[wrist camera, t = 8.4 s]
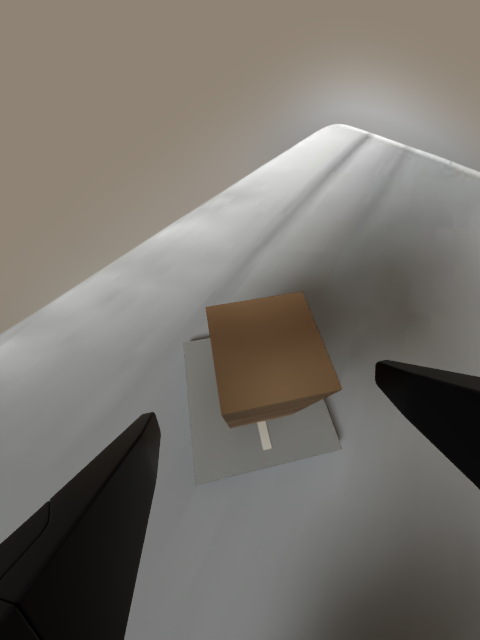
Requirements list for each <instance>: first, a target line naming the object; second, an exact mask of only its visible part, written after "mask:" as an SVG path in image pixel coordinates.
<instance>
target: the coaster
mask: <svg viewBox="0 0 480 640" xmlns="http://www.w3.org/2000/svg"><path fill="white" fill-rule="evenodd" d="M183 345H184V357H185V368H186V380H187V392H188V403H189V415H190V427H191V438H192V450H193V462H194V473H195V485H199V484H203V483H207V482H211V481H215V480H219V479H223V478H227V477H231V476H235V475H239V474H243V473H247V472H251V471H255V470H259V469H263V468H267V467H271V466H275V465H279V464H283V463H287V462H291V461H296V460H300V459H304V458H308V457H312V456H316V455H320V454H324V453H328V452H332V451H336V450H340V449H342V447H341V444H340V442H339V439H338V436H337V433H336V431H335V428H334V425H333V423H332V420H331V417H330V414H329V412H328V409H327V406H326V404H325V401H324V399H322V400H320V401H318V402H316V403H314V404H312V405H310V406H308V407H306V408H304V409H302V410H300V411H298V412H296V413H294V414H292V415H289V416H285V417H280V418H276V419H271V420H267V421H262V422H257V423H253V424H248V425H244V426H239V427H235V428H229V426H228V425H227V423H226V421H225V420H224V418H223V417H222V415H221V409H220V403H219V396H218V389H217V382H216V375H215V368H214V361H213V354H212V348H211V341H210V338H206V339H201V340H195V341H190V342H184V343H183Z"/></svg>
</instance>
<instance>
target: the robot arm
mask: <svg viewBox="0 0 480 640" xmlns="http://www.w3.org/2000/svg"><path fill="white" fill-rule="evenodd" d="M375 381H376V384H377V386H378V387H379V388H380V389H381V390H382V391H383V393H384V394H385V395H386V396H387V397H388V398H389V399H390V401H391V402H392V403H393V404H394V405H395V406H396V407H397V409H398V410H399V411H400V412H401V413H402V414H403V415H404V416H405V417H406V418H407V419H408V420H409V421H410V422H411V423H412V424H413V425H414V426H415V427H416V428H417V429H418V430H419V431H420V432H421V433H422V434H423V435H424V436H425V437H426V438H427V439H428V440H429V441H430V442H431V443H432V444H433V445H434V446H435V447H436V448H438V449H439V450H440V451H441V452H442V453H443V454H444V455H445V456H446V457H447V458H448V459H449V460H450V461H451V462H452V463H453V464H454V465H455V466H456V467H457V468H458V469H459V470H460V471H461V472H462V473H463V474H464V475H465V476H466V477H467V478H469V479H470V480H471V481H472V482H473V483H474V484H475V485H476V486H477V487H478V488H479V489H480V377H477V376H471V375H466V374H461V373H455V372H450V371H444V370H439V369H433V368H428V367H423V366H417V365H412V364H406V363H401V362H395V361H390V360H384V361H379V362H377V363H376V366H375ZM160 438H161V433H160V428H159V425H158V421H157V418H156V415H155V413H154V412H150V413H146V414H142V415H141V416H140V417H139V418H138V419H137V420H136V421H134V422H133V423H132V424H131V425H130V426H129V427H128V428H127V429H126V430H125V431H124V432H123V433H121V434H120V435H119V436H118V437H117V438H116V439H115V440H114V441H113V442H112V443H111V444H109V445H108V446H107V447H106V448H105V449H104V450H103V451H102V452H101V453H100V454H99V455H98V456H96V457H95V458H94V459H93V460H92V461H91V462H90V463H89V464H88V465H87V466H86V467H84V468H83V469H82V470H81V471H80V472H79V473H78V474H77V475H76V476H75V477H74V478H73V479H71V480H70V481H69V482H68V483H67V484H66V485H65V486H64V487H63V488H62V489H61V490H59V491H58V492H57V493H56V494H55V495H54V496H53V497H52V498H51V499H50V501H48V502H46V503H45V504H44V505H43V506H42V507H41V508H40V509H39V510H38V511H37V512H36V513H34V514H33V515H32V516H31V517H30V518H29V519H28V520H27V521H26V522H24V523H23V524H22V525H21V526H20V527H19V528H18V529H17V530H16V531H14V532H13V533H12V534H11V535H10V536H9V537H8V538H7V539H5V540H4V541H3V542H2V543H1V544H0V640H124V636H125V632H126V627H127V622H128V617H129V612H130V607H131V602H132V597H133V592H134V588H135V583H136V578H137V573H138V568H139V563H140V558H141V553H142V548H143V544H144V539H145V534H146V529H147V524H148V519H149V514H150V509H151V504H152V499H153V495H154V490H155V484H156V478H157V469H158V459H159V448H160Z"/></svg>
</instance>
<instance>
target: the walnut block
mask: <svg viewBox="0 0 480 640" xmlns="http://www.w3.org/2000/svg"><path fill="white" fill-rule="evenodd" d="M206 313H207V320H208V327H209V334H210V341H211V348H212V354H213V361H214V368H215V375H216V382H217V389H218V396H219V403H220V409H221V415H222V417H223V418H224V420H225V421H226V423H227V425H228V426H229V428H235V427H239V426H244V425H248V424H253V423H257V422H262V421H267V420H271V419H276V418H280V417H285V416H289V415H292V414H294V413H296V412H298V411H300V410H302V409H304V408H306V407H308V406H310V405H312V404H314V403H316V402H318V401H320V400H322V399H324V398H326V397H328V396H330V395H332V394H334V393H336V392H338V391H340V390H342V387H341V384H340V382H339V380H338V377H337V375H336V372H335V370H334V367H333V365H332V363H331V360H330V358H329V355H328V353H327V350H326V348H325V346H324V343H323V341H322V338H321V336H320V333H319V331H318V329H317V326H316V324H315V321H314V319H313V316H312V314H311V312H310V309H309V307H308V304H307V302H306V299H305V297H304V295H303V292H296V293H290V294H284V295H277V296H271V297H265V298H259V299H253V300H247V301H241V302H234V303H228V304H222V305H216V306H210V307H206Z"/></svg>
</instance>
